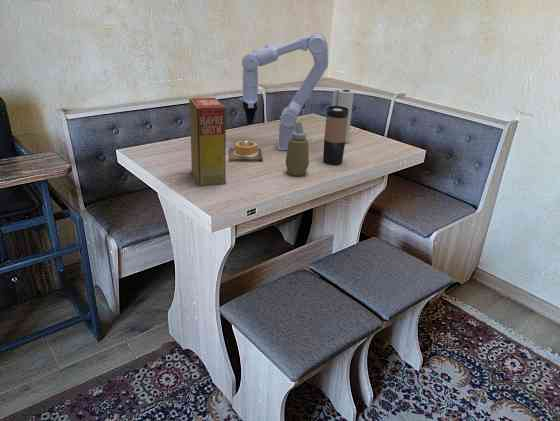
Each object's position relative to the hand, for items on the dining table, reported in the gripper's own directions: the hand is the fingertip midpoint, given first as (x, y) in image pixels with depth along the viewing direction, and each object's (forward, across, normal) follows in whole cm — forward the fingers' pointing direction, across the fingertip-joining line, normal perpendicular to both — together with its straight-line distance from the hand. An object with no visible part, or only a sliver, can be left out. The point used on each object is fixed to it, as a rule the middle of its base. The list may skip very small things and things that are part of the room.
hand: (249, 121), depth 179 cm
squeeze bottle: (+10, +30, +15) cm, 35 cm away
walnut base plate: (+9, +13, -2) cm, 16 cm away
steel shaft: (+9, +13, -2) cm, 16 cm away
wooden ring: (+8, +12, -2) cm, 15 cm away
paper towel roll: (+10, -5, +38) cm, 40 cm away
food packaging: (+10, +34, -15) cm, 38 cm away
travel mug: (+10, +19, +30) cm, 37 cm away
